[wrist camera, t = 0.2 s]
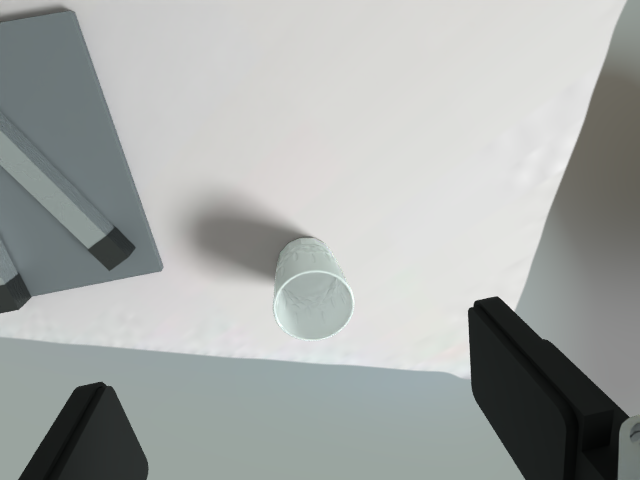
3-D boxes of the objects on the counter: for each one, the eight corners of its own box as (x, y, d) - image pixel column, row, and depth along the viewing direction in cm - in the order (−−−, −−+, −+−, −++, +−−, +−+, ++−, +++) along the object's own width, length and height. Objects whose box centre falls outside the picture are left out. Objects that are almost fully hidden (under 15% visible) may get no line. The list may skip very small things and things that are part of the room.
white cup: (289, 302, 51) (293, 352, 42) (260, 248, 48) (258, 290, 39) (348, 276, 51) (365, 322, 42) (323, 221, 48) (336, 257, 38)
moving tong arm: (-114, 68, 37) (-146, 68, 34) (-74, 33, 36) (-104, 30, 33) (102, 272, 46) (90, 285, 43) (136, 247, 45) (127, 259, 42)
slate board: (-154, 50, 37) (-165, 50, 36) (74, 12, 38) (69, 10, 37) (-14, 302, 47) (-20, 306, 46) (163, 267, 48) (161, 271, 47)
